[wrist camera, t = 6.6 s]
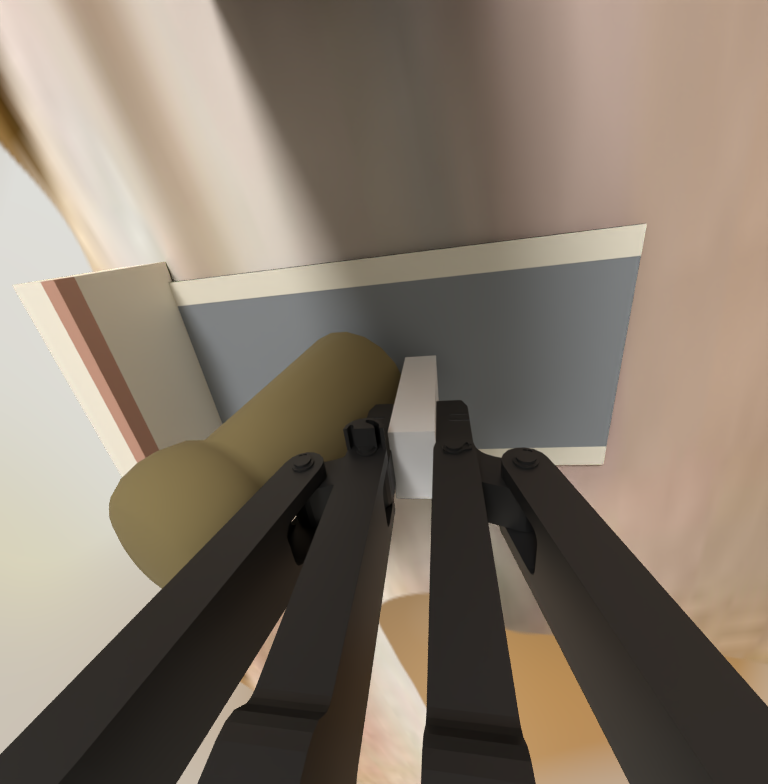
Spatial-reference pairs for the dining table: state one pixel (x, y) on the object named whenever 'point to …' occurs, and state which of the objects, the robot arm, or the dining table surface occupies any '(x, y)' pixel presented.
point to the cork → (247, 452)
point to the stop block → (125, 357)
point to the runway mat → (446, 330)
